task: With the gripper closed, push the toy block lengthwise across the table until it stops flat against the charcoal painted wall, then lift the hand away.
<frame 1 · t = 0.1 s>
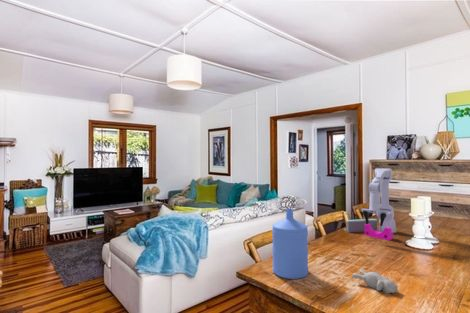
hand: (374, 225, 161), 11 cm above the table, tool pointing down, fingers open, 7 cm apart
backstop wall: (361, 231, 187), on the table
bunny figurine: (375, 287, 106), on the table
toy block: (378, 237, 173), on the table
water jug: (290, 272, 120), on the table
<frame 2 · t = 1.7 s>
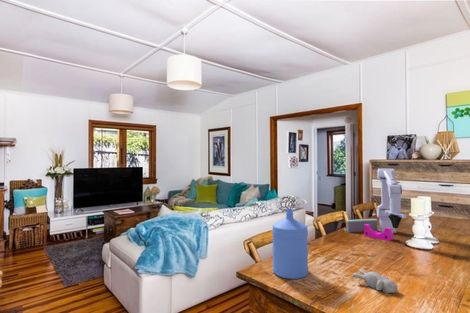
hand: (395, 227, 159), 9 cm above the table, tool pointing down, fingers closed
toy block: (378, 238, 171), on the table
everything else where it was.
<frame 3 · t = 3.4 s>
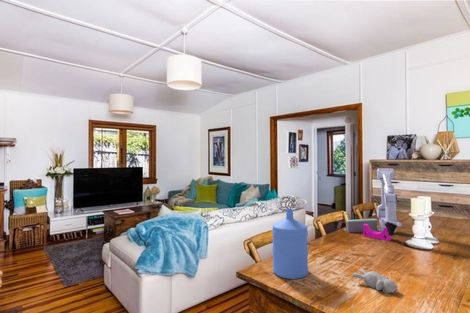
hand: (391, 235, 162), 4 cm above the table, tool pointing down, fingers closed
toy block: (377, 237, 171), on the table, touching gripper
everything else where it was.
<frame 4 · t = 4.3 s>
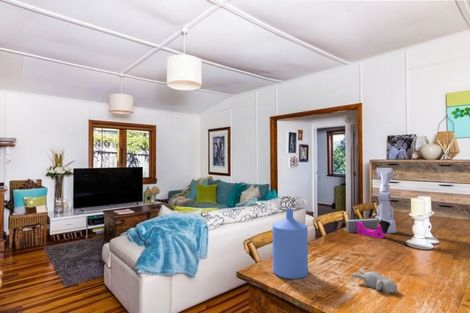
hand: (384, 233, 167), 4 cm above the table, tool pointing down, fingers closed
toy block: (371, 235, 176), on the table, touching gripper
everything else where it was.
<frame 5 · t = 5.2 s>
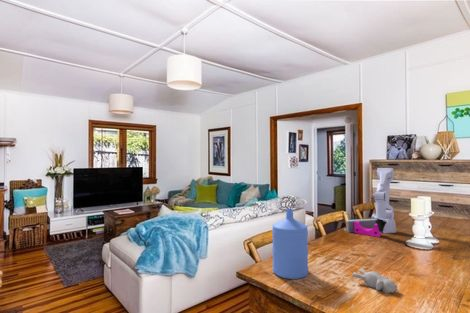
hand: (381, 231, 171), 4 cm above the table, tool pointing down, fingers closed
toy block: (367, 234, 179), on the table, touching backstop wall, gripper
everything else where it was.
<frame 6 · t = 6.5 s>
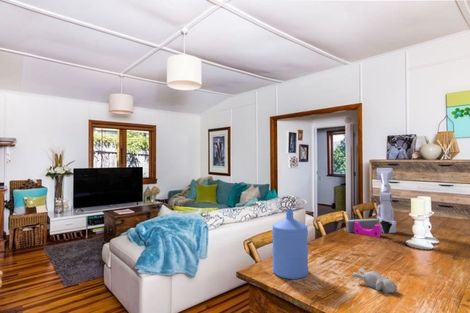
hand: (386, 233, 166), 4 cm above the table, tool pointing down, fingers closed
toy block: (367, 234, 179), on the table
everything else where it was.
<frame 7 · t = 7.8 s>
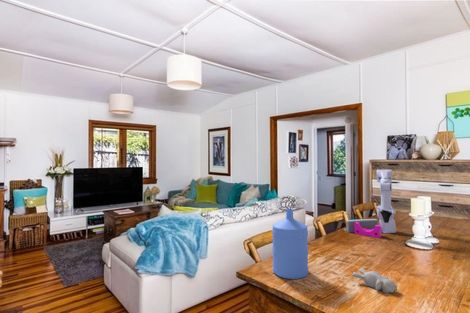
hand: (386, 222, 172), 9 cm above the table, tool pointing down, fingers closed
toy block: (368, 235, 178), on the table
everything else where it was.
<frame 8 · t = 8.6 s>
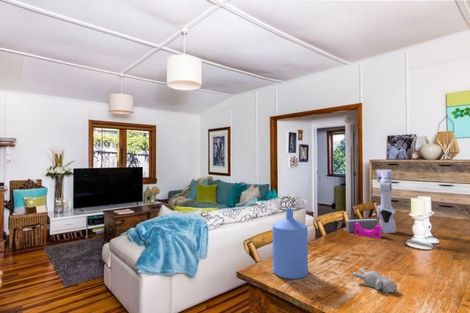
hand: (386, 222, 172), 9 cm above the table, tool pointing down, fingers closed
nothing on the table moved.
at the end: toy block inside the target area (4.2 cm from its centre), on the table; toy block tilted 0° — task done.
